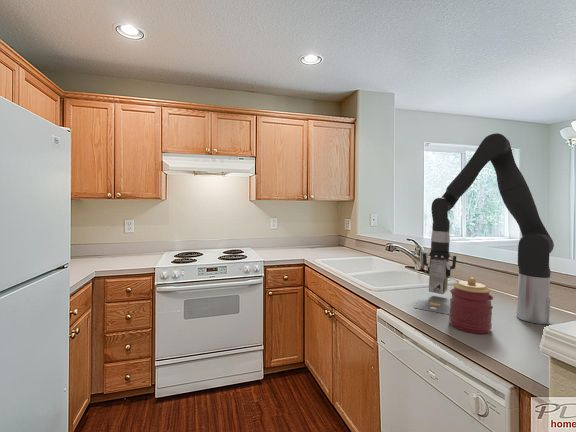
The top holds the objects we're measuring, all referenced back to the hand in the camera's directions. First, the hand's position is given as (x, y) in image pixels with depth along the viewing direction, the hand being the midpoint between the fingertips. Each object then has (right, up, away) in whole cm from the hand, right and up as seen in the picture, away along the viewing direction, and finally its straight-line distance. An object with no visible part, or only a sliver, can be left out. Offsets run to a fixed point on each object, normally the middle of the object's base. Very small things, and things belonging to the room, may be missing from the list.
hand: (438, 276), depth 138 cm
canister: (-6, -12, -33) cm, 35 cm away
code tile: (-8, -10, -12) cm, 18 cm away
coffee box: (0, -7, 0) cm, 7 cm away
